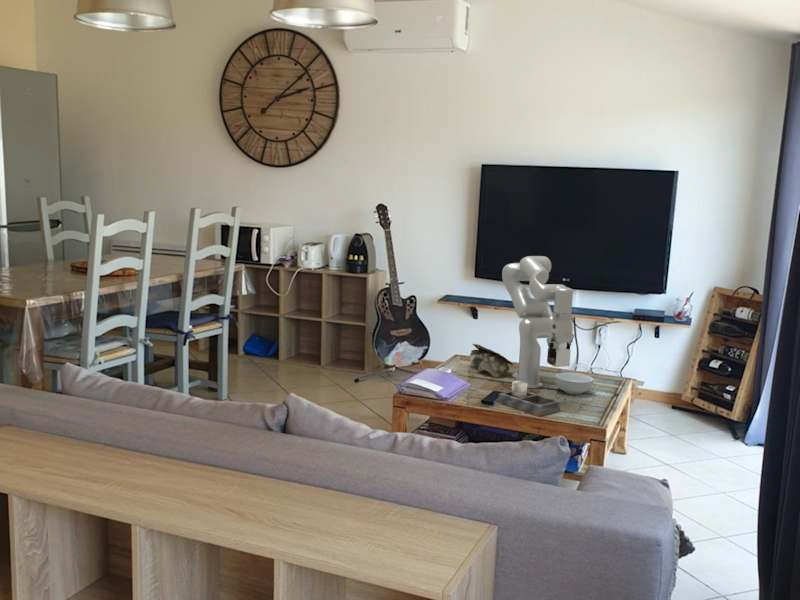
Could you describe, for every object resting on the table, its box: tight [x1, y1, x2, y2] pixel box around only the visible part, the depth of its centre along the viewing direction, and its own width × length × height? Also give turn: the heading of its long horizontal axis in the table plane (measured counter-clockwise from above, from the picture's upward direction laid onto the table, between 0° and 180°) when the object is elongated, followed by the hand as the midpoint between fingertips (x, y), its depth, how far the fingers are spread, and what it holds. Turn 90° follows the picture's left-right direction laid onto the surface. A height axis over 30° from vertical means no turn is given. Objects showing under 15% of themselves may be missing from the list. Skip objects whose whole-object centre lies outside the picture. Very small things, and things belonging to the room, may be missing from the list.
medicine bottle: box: [546, 343, 572, 368], centre depth 343 cm, size 7×7×12 cm
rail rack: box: [498, 380, 562, 417], centre depth 336 cm, size 22×13×9 cm, turn 40°
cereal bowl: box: [554, 372, 594, 395], centre depth 361 cm, size 17×17×7 cm
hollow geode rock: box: [469, 343, 514, 378], centre depth 392 cm, size 28×13×15 cm
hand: (559, 355), depth 343 cm, fingers closed on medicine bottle, 9 cm apart
